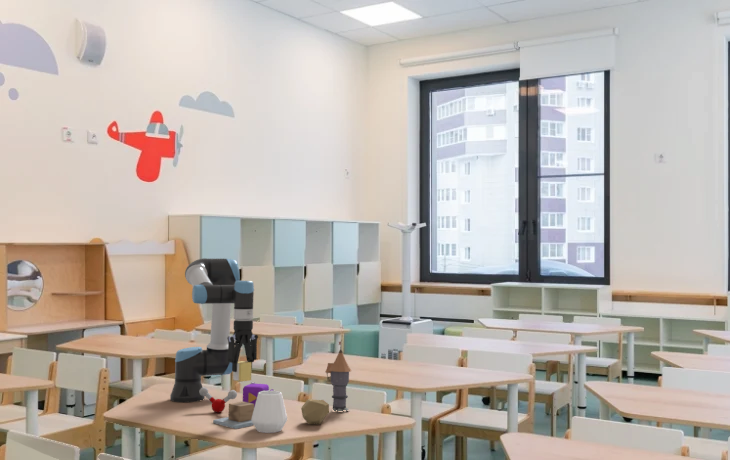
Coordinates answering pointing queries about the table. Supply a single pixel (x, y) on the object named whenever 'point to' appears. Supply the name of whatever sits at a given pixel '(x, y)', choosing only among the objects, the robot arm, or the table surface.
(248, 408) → the walnut block
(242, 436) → the table surface
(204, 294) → the robot arm
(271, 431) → the white faceted vase
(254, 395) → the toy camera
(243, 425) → the plate
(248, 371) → the mustard block
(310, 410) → the low-poly potato
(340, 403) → the model tower
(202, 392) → the molecular model
